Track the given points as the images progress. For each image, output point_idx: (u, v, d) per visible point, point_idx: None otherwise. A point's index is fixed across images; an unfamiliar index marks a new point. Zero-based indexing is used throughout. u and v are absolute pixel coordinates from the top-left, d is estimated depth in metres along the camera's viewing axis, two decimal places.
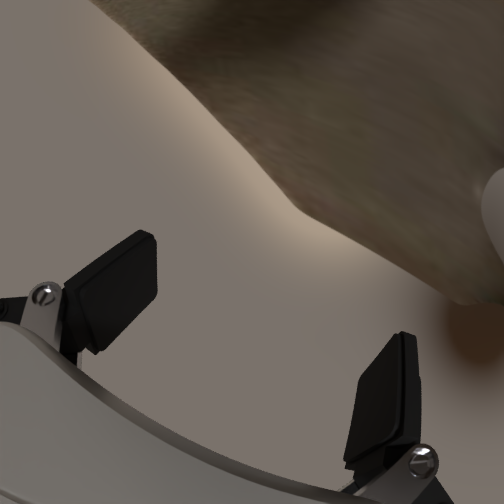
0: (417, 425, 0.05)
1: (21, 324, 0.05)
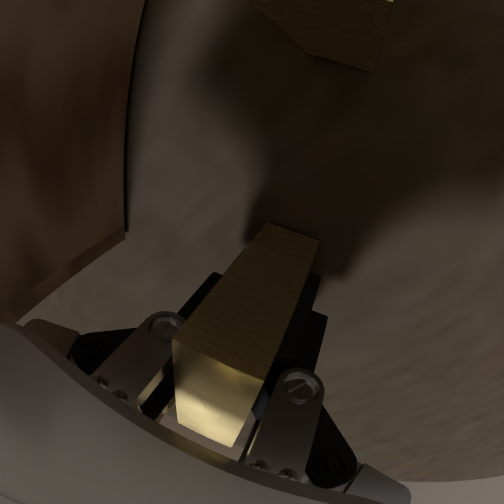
0: (297, 346, 0.07)
1: (149, 368, 0.06)
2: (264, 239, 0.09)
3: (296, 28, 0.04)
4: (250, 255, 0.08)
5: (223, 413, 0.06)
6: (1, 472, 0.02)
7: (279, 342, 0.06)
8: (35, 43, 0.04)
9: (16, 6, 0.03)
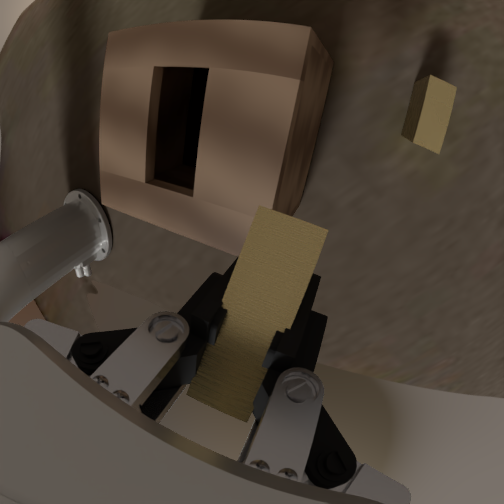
0: (296, 346, 0.07)
1: (150, 368, 0.06)
2: (254, 250, 0.08)
3: None
4: (237, 287, 0.08)
5: None
6: (1, 472, 0.02)
7: None
8: (314, 108, 0.17)
9: (316, 90, 0.16)
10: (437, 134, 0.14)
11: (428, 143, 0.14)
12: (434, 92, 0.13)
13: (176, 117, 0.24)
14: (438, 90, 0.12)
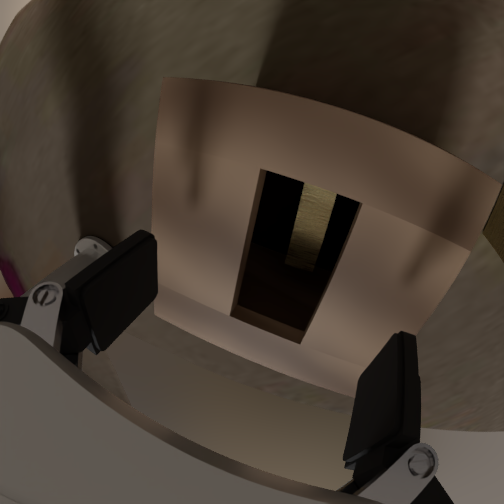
0: (417, 424, 0.05)
1: (22, 324, 0.05)
2: (305, 200, 0.17)
3: None
4: (300, 216, 0.17)
5: None
6: (1, 472, 0.02)
7: (316, 259, 0.18)
8: None
9: None
10: None
11: None
12: None
13: None
14: None
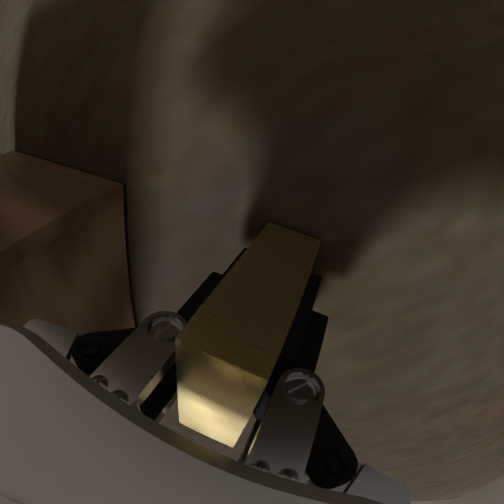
0: (297, 347, 0.07)
1: (149, 367, 0.06)
2: None
3: None
4: None
5: None
6: (1, 472, 0.02)
7: None
8: (65, 313, 0.10)
9: (41, 305, 0.09)
10: (222, 431, 0.07)
11: (208, 433, 0.08)
12: (196, 376, 0.06)
13: None
14: (206, 375, 0.06)
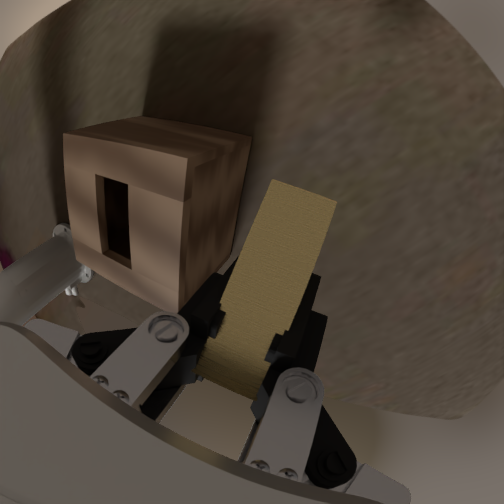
0: (296, 346, 0.07)
1: (149, 368, 0.06)
2: None
3: None
4: None
5: None
6: (1, 472, 0.02)
7: None
8: (222, 194, 0.24)
9: (219, 183, 0.22)
10: None
11: None
12: None
13: None
14: None
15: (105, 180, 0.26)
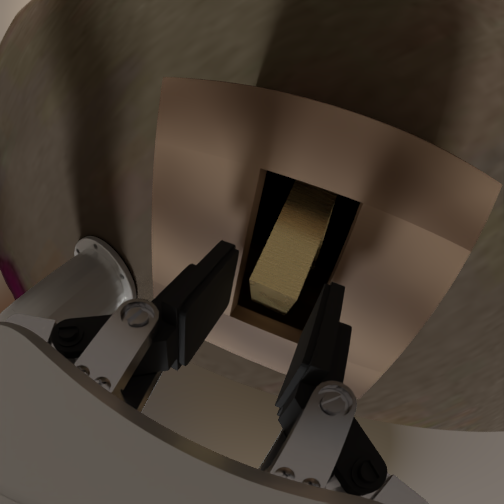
0: (329, 360, 0.07)
1: (118, 350, 0.06)
2: None
3: None
4: None
5: None
6: (1, 472, 0.02)
7: (317, 257, 0.18)
8: None
9: None
10: (277, 308, 0.14)
11: (269, 307, 0.15)
12: (261, 290, 0.12)
13: None
14: (266, 291, 0.12)
15: None
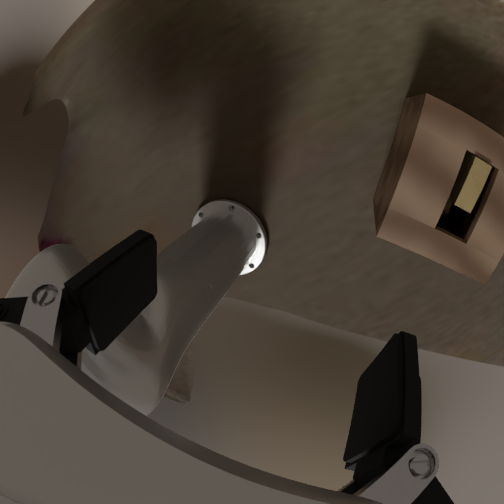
0: (417, 425, 0.05)
1: (21, 324, 0.05)
2: None
3: None
4: None
5: None
6: (1, 472, 0.02)
7: (450, 207, 0.25)
8: None
9: None
10: (471, 199, 0.19)
11: (464, 206, 0.19)
12: (475, 170, 0.17)
13: None
14: (478, 168, 0.17)
15: None
